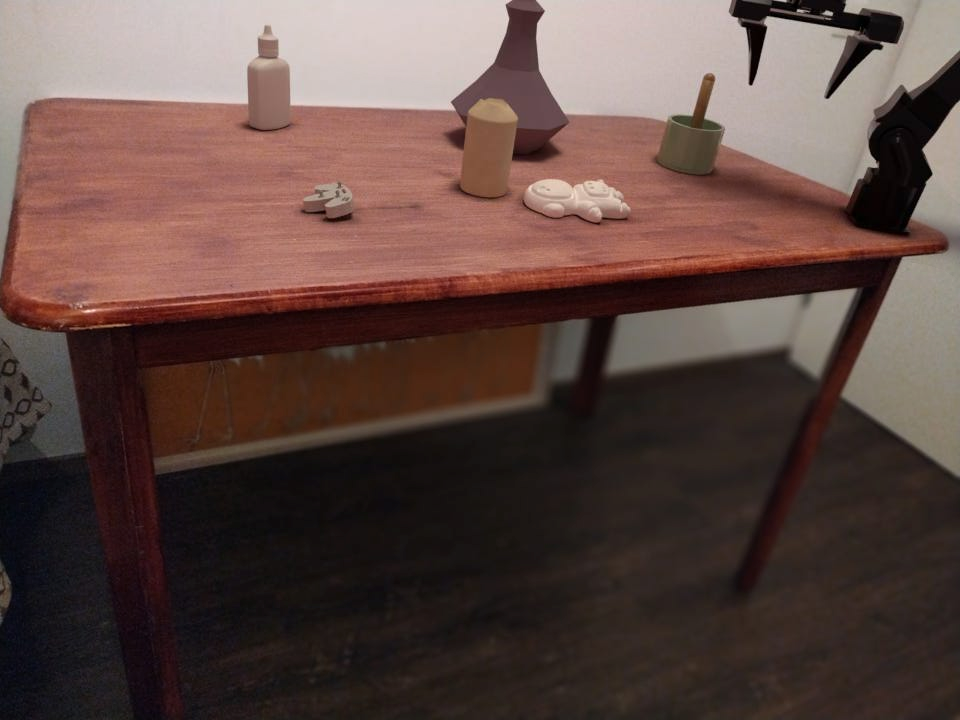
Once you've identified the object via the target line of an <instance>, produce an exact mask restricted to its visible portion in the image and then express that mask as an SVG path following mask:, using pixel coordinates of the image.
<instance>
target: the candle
mask: <svg viewBox="0 0 960 720" xmlns="http://www.w3.org/2000/svg"><path fill="white" fill-rule="evenodd" d="M517 122H518V117H517V116H516V114H515V113H514V111H513V110H512V109H511V108H510V106H509V105H508V104H507V103H506V102H505V101H504V100H502V99H493V98H488V99H486V100H483V99H480V100H479V101H478V102H477V103H476V104H475V105H474V106H473V107H472V108H471V109H470V110H469V111H468V117H467V126H465V137H464V142H463V143H464V144H463V152H462V159H461V160H462V161H461V169H460V179H459V188H460V189H461V190H462V191H463V192H464V193H468V194H469V195H472V196H475V197H481V198H500V197H503V196H505V195H506V193H507V191H508V186H509V180H510V175H511V174H510V173H511V166H512V162H513V161H512V159H513V154H514V153H513V148H514V141H515V135H516V128H517Z"/></svg>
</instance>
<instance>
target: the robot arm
mask: <svg viewBox="0 0 960 720" xmlns="http://www.w3.org/2000/svg"><path fill="white" fill-rule="evenodd" d="M846 2H847V0H786V1H782V0H731V2H730V5H729V8H728V13H729V15H730V16H731V17H733V18H735V19H736V18H737V24H738V25H739V26H740V27H741V28H743V29H745V33H746V39H747V48H748V49H747V50H748V61H747V62H748V65H747V66H748V70H747V71H748V75H747V77H748V78H747V79H748V80H747V83H748V86H751V87H752V86H754V82H755V79H756V77H757V75H758V70H759V66H760V61H761V57H762V53H763V49H764V43H765V39H766V36H767V31H768V25H766V24H765V23H766V22H765V21H766V20H767V18H775V19H781V20H788V21H794V22H799V23H800V22H801V23H804V24H805V23H806V24H810V25H811V24H812V25H816V26H817V25H818V26H823V27H824V26H825V27H830V28H836V29H840V30H841V29H843V30H847V31H854V32H853V35H850V34H848V35H847V36H846V40H845V42H844V47H843V50H842V53H841V55H840V57H839V59H838V61H837V64H836V65H835V68H834V69H833V72H832V74H831V77H830V79H829V81H828V83H827V86H826V89H825V91H824V96H823V98H824V99H825V100H829V99H830V98H831V97H832V96H833V94H834V93H835V92H836V91H837V89H838V88H839V87H840V86H841V85H842V84H843V82H844V81H845V80H847V78H848V77H849V75H851V73H852V72H853V71H854V70H855V69H856V68H857V67H858V66H859V64H861V63H862V62H863V61H864V60H865V59H866V58H867V57H868V56H869V55H870V54H871V53H873V51H875V50H876V51H882V50H883V49H884V46H885V45H884V44H882V43H886V44H893V45H898V43H899V41H900V38H901V36H902V33H903V31H904V28H905V21H904V18H903V16H901V15H899V14H896V13H893V12H890V11H884V10H878V9H871V8H867V7H866V8H865V7H861V9H860V11H859V13H855V12H850V11H845V9H846V6H847V3H846ZM798 10H800V11H798ZM801 11H802V12H801ZM826 12H829V13H832V15H831V14H825V13H826ZM959 102H960V50H958V51H957V53H955V54H954V55H953V56H952V57H951V58H949V60H948V61H947V62H946V63H945V64H944V65H942V67H941V68H940V69H938V70H937V71H936V72H935V73H934V74H933V75H932V76H931V77H930V78H929V79H928V80H927V81H925V82H924V83H921V84H920V85H918V86H917V87H915V88H913V89H912V90H910V91H908V89H907V88H906V86H904V85H903V84H900V85H899V86H898V87H897V88H896V89H895V90H894V92H893V93H892V94H891V96H889V98H888V99H887V101H885V102H884V103H883V104H882V105H880V106H878V107H876V108H874V109H873V116H874V117H873V118H872V119H871V121H870V122H869V124H868V127H867V130H866V131H867V134H866V139H867V146H868V151H869V154H870V156H871V157H872V158H873V159H874V161H875V163H876V165H877V166H876V167H873V166H872V167H871V166H867V168H866V171H865V172H864V175H863V177H862V178H861V177H860V178H858V179H857V181H856V183H855V186H854V188H853V190H852V193H851V195H850V198H849V200H848V203H847V205H846V206H845V211H846V212H847V214H848V216H849V217H850V219H851V220H852V222H853V224H854V225H856V226H858V227H862V228H867V229H871V230H877V231H883V232H888V233H894V234H899V235H903V236H910V234H911V230H910V228H909V227H908V225H909V223H910V221H911V219H912V216H913V214H914V212H915V210H916V208H917V206H918V203H919V202H920V199H921V197H922V195H923V193H924V192H925V191H924V190H925V188H926V186H927V182H928V181H929V180H930V179H931V178H932V177H933V175H934V173H933V170H932V167H931V166H930V163H929V160H928V158H927V156H926V154H925V152H924V148H925V147H926V146H927V144H928V143H930V141H931V140H932V138H934V136H935V135H936V134H937V132H938V131H939V129H940V128H941V126H942V125H943V124H944V122H945V120H946V119H947V117H948V116H949V114H950V113H951V111H952V110H953V108H954V107H955V106H956V105H957V104H958V103H959Z"/></svg>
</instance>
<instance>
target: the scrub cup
mask: <svg viewBox="0 0 960 720" xmlns="http://www.w3.org/2000/svg"><path fill="white" fill-rule="evenodd" d="M692 116H693V114H692V115H691V114H678V113H677V114H671V115H668V116H667V118H666V123H665V126H664V130H663V133H662V138H661V141H660V145H659V149H658V153H657V157H656V161H657V163H658V164H660V165H661V166H663V167H665V168H666V169H669V170H672V171H675V172H679V173H683V174H689V175H697V176H698V175H701V176H702V175H709V174H711V173H712V172H713V171H714V167H715V164H716V161H717V158H718V155H719V151H720V148H721V145H722V141H723V138H724V135H725V132H726V127H725V126H724V125H723V124H721V123H720V122H718V121H715V120H712V119H709V118H706V117H705V118H704V121H703V124H702V128H701V129H697V128H692V127H690V123H691V120H692Z"/></svg>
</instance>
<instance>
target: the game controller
mask: <svg viewBox="0 0 960 720" xmlns="http://www.w3.org/2000/svg"><path fill="white" fill-rule="evenodd" d="M313 189H314V194H312V195H309V196H306V197H304V198H302V204H303V208H304V212H305V213H315V212H316V213H317V212H323V211H325V214H326V217H327V219H336V218H339V217H342V216H346V215H349V214H351V213H353V212H354V209H355V203H354V199H353V198H354V196H353V192H352V191H351V190H350V188H349V187H347V186H346V185H344V184H342V180H338V181H337V182H332V183H325V184H318V185H315V186H314V188H313ZM368 197H369V195H366V196H365V195H364V196H363V197H362V198H360V199H359V201H362V200H363V199H364V198H368ZM372 197H375V198H379V199H380V197H379V196H374V195H372ZM381 201H382V202H383V203H384V204H387V205H391V203H390V202H389V203H387V202H384V201H383V200H381ZM403 201H405V199H401V200H400V201H398V202H396V203H395V202H394V205H398V204H400V203H401V202H403ZM409 201H411V202H414V203H416V205H415V206H416V207H417V206H418V202H416V201H415V200H411V199H409Z"/></svg>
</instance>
